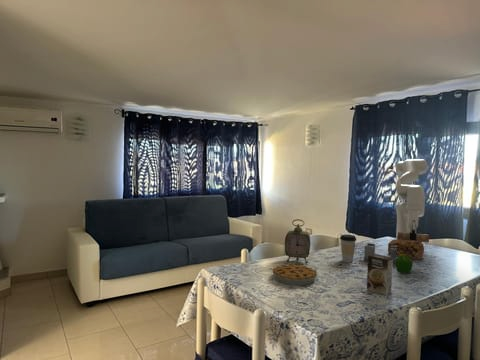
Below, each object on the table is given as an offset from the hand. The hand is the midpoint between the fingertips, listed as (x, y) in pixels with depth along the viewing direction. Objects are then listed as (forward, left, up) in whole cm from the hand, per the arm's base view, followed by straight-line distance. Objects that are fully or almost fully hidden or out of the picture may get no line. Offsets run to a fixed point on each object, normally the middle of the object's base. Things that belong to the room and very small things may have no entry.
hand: (412, 238), depth 192 cm
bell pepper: (+18, -4, -15) cm, 24 cm away
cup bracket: (0, -22, -15) cm, 27 cm away
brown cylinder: (0, 0, +1) cm, 1 cm away
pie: (+55, -53, -16) cm, 78 cm away
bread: (-20, -3, -16) cm, 26 cm away
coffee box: (+53, -14, -15) cm, 57 cm away
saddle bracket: (0, -10, -15) cm, 18 cm away
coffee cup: (+10, -34, -15) cm, 39 cm away
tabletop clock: (+26, -60, -15) cm, 67 cm away
